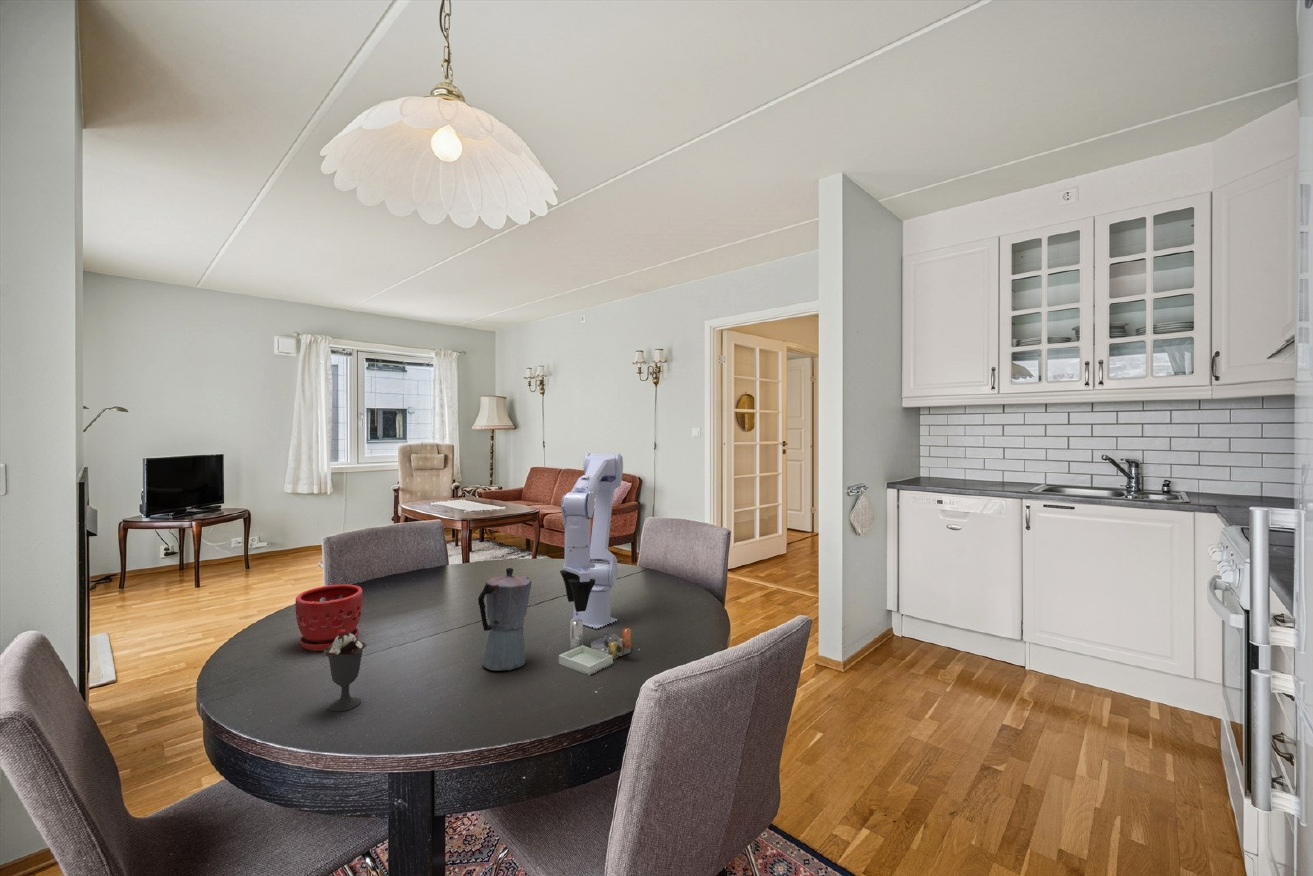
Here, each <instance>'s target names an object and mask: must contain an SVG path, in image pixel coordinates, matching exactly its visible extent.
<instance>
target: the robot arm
mask: <svg viewBox="0 0 1313 876" xmlns="http://www.w3.org/2000/svg"><path fill="white" fill-rule="evenodd" d="M582 465H583V473H584V475H582V476H580V477H579V478H578V479H577V480H576V482H575V483H574V486H573V487H572V489H571V491H570V492H567V493H566V494H563V496H562V498H561V504H560V505H561V506H560V511H561V512H560V513H561V516H562V525H563V527H564V562H563V563H564V564H563V569H561V570H559V573H560V575H561V577H562V580H563V583H564V586H565V587H564V588H565V593H566V598H567V601H568V603H572V602H573V618H572V619H570V621H571V620H573V619H581V620H583V626H586V627H589V628H592V627H593V628H592V629H595V628H596V630H598V628H599V629H601V628H604V627H606V626H608V625H607V624H609V623H611V624H614V623H616V622H618V621H617V620H618V618H615V617H612V616H611V612H612V611H611V609H612V608H611V606H612V603H611V602H612V588H614V587H615V586H616V584H617V581H618V559H617V557H616V555H615V554H613V553H612V552H611V551H610V550H609V541H610V532H611V531H610V530H611V523H612V522H611V521H612V509H613V501H614V494H615V490H616V489H617V488H619V487H621V486H622V481H623V472H624V461H623V456H622V455H621V453H590V452H588V453H586V454H585V456H584V459H583V464H582ZM591 518H593V519H592V527H591ZM591 528H592V529H591ZM615 621H616V622H615ZM613 622H614V623H613ZM605 625H606V626H605ZM609 625H610V624H609ZM603 626H604V627H603ZM600 627H601V628H600Z"/></svg>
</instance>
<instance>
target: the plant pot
mask: <svg viewBox="0 0 1313 876" xmlns="http://www.w3.org/2000/svg"><path fill="white" fill-rule="evenodd" d="M363 593H364V592H363V588H362V587H361V586H359V585H356V584H354V585H353V584H332V585H324V586H323V585H322V586H319V587H314V588H312V589H311V588H310V589H308V590H305V591H303V592H300V594H298V595H297V596H296V597H295V616H296V617H295V618H296V623H297V627H298V630H299V632H300V634H301V637H300V639H299V644H300V646H301V647H303V648H304V649H306V650H309V651H316V652H317V651H320V652H321V651H322V652H324V650H325V648H326V647H329V646H332V644H333V642H334V640H335V638H336V637H337V636H338V631H339V630H342V623H343V625H344V630H346V631H347V632H350V633H352V634H353V635H354V636H355V638H356V639H357V638H358V636H359V633H360V632H359V629H358V628H357V627H358V624H359V622H360V620H361V617H362V616H361V615H362V613H363V612H362V611H363V599H364V598H363ZM339 596H342V598H339ZM322 598H325V600H322V601H321V599H322ZM338 619H341V622H342V623H341V622H340V621H338Z"/></svg>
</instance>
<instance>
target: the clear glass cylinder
mask: <svg viewBox="0 0 1313 876" xmlns="http://www.w3.org/2000/svg"><path fill="white" fill-rule="evenodd" d="M572 619H573V618H572ZM569 622H570V623H569V625H570V626H569V630H570V631H569V651H570V650H573V649H575V648H577V647H580V646H582V645H583V646H584V644H583V642H584V641H583V639H584V638H583V635H584V633H583V632H584V629H583V628H584V625H583V620H581V619H573V620H571V619H570V621H569Z"/></svg>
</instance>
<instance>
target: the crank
mask: <svg viewBox="0 0 1313 876" xmlns="http://www.w3.org/2000/svg"><path fill="white" fill-rule="evenodd" d="M618 637H619V634H617V633H605V634H604V635H603V638H604V644H605V645H607V646H609V642H610V641H616V642H617V650H618V651H619V652H621V653H623V654H626V653H628V654H630V653H631V651H632V643H631V642H632V630H631V628H629V627H625V628H622V637H621V638H622V641H620V640H619V639H618Z"/></svg>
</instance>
